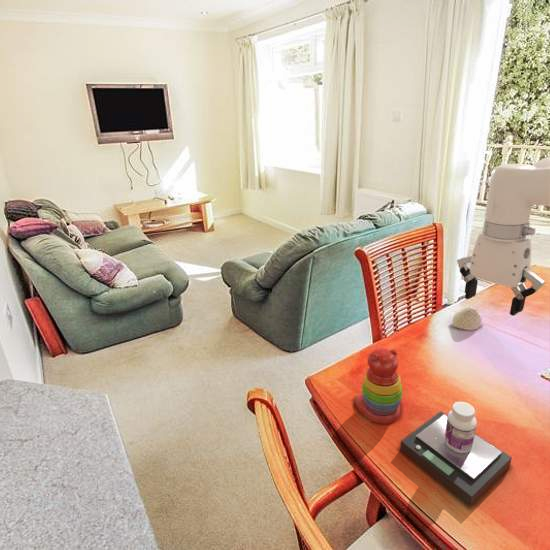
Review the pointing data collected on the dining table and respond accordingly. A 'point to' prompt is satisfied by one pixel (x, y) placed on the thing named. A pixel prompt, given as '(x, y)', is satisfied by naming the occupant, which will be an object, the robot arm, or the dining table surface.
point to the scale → (448, 473)
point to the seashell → (467, 319)
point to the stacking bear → (381, 387)
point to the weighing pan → (467, 462)
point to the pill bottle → (460, 427)
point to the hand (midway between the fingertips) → (491, 304)
